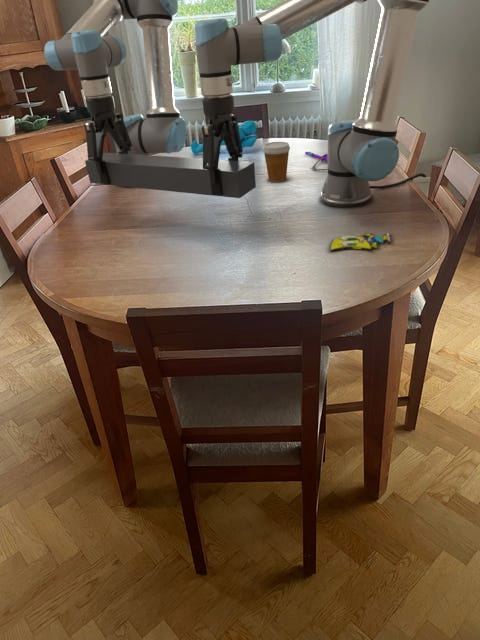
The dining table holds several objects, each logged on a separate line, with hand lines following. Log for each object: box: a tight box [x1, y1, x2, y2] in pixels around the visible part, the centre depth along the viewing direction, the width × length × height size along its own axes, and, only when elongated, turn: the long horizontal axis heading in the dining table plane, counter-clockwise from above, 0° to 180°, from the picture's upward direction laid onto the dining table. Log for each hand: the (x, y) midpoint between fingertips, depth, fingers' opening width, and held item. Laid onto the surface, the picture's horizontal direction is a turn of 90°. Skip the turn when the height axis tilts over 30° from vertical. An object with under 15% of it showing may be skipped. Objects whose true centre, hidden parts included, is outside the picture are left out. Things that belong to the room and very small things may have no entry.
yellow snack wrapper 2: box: [330, 232, 391, 252], centre depth 122 cm, size 10×1×15 cm
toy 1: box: [189, 120, 258, 155], centre depth 209 cm, size 17×11×30 cm
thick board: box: [84, 152, 257, 199], centre depth 133 cm, size 51×9×7 cm, turn 62°
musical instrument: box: [304, 151, 328, 171], centre depth 185 cm, size 24×2×20 cm
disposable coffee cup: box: [262, 141, 291, 183], centre depth 169 cm, size 10×10×12 cm
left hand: (116, 178), depth 143 cm, fingers closed on thick board, 9 cm apart
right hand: (226, 188), depth 126 cm, fingers closed on thick board, 9 cm apart
